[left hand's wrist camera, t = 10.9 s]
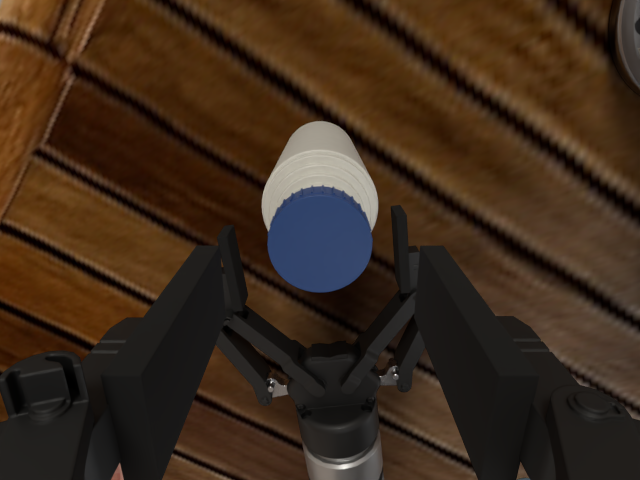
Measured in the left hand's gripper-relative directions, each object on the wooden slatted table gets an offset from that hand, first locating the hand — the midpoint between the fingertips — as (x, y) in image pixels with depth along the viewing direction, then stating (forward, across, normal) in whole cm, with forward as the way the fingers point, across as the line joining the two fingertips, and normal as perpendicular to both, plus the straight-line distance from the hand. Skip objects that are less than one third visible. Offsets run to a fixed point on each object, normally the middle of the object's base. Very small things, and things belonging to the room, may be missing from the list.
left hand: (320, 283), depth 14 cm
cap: (+4, 0, 0) cm, 4 cm away
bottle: (+25, 0, 0) cm, 25 cm away
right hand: (+18, +1, +4) cm, 19 cm away
